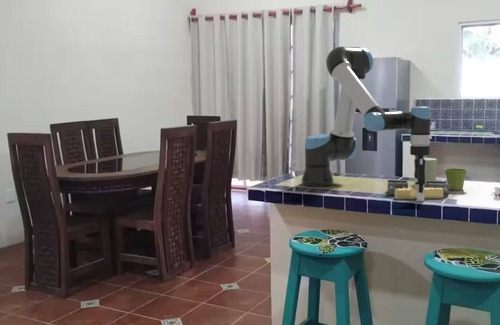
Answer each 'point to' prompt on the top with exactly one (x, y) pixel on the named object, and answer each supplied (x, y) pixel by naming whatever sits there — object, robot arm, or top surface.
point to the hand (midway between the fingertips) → (418, 197)
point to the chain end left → (396, 185)
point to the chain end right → (439, 184)
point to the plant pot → (455, 178)
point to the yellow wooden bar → (412, 193)
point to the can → (430, 169)
